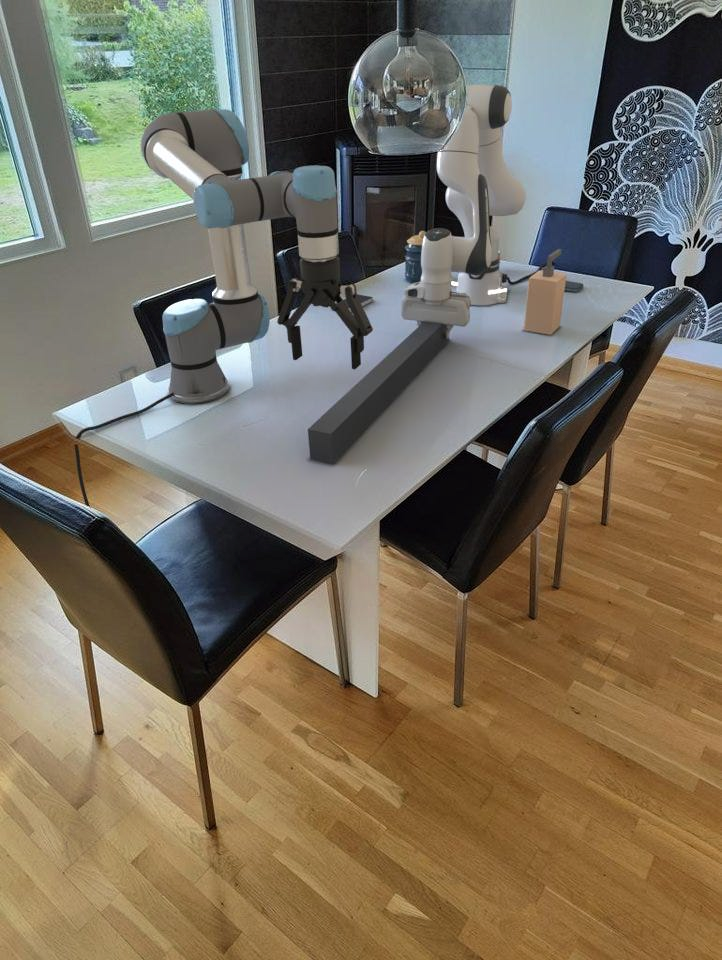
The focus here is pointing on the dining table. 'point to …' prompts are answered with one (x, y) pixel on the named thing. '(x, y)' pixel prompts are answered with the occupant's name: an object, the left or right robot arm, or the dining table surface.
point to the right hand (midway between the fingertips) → (434, 336)
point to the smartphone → (362, 298)
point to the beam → (373, 393)
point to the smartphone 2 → (573, 286)
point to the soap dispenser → (545, 299)
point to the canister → (414, 258)
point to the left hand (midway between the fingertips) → (326, 362)
